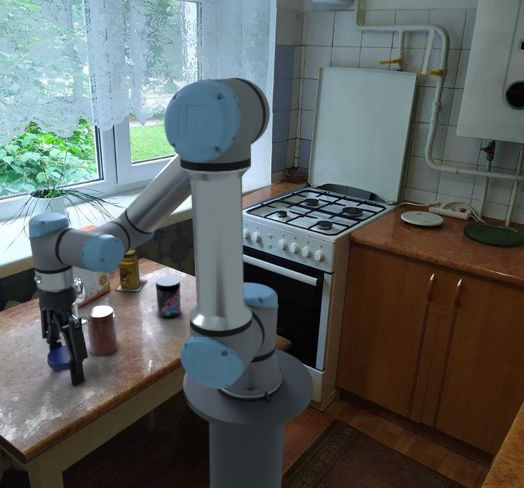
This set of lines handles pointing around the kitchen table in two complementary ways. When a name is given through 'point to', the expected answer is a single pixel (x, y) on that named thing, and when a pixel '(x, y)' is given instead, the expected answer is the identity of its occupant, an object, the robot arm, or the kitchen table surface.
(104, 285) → the cracker box
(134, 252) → the condiment
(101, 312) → the jar
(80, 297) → the wineglass
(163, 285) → the supplement container
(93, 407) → the kitchen table surface
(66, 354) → the lid
